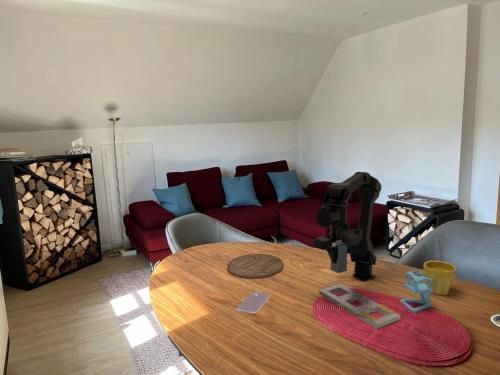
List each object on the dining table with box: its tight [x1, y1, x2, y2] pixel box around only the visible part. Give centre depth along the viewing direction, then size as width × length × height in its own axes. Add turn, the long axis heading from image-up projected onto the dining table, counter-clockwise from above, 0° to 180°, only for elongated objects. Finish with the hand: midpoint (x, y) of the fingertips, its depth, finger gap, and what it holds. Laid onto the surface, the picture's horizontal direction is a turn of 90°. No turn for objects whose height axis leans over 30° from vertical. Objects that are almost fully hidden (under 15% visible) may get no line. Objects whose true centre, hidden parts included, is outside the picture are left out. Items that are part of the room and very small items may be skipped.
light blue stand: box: [400, 270, 433, 313], centre depth 127 cm, size 8×8×12 cm
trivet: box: [227, 253, 285, 280], centre depth 168 cm, size 25×25×2 cm
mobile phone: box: [236, 290, 271, 314], centre depth 136 cm, size 8×1×15 cm
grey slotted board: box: [318, 283, 401, 330], centre depth 130 cm, size 10×28×2 cm, turn 28°
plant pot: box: [422, 260, 457, 296], centre depth 137 cm, size 10×10×10 cm
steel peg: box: [330, 242, 348, 274], centre depth 135 cm, size 4×4×10 cm
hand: (338, 262), depth 136 cm, fingers closed on steel peg, 4 cm apart
